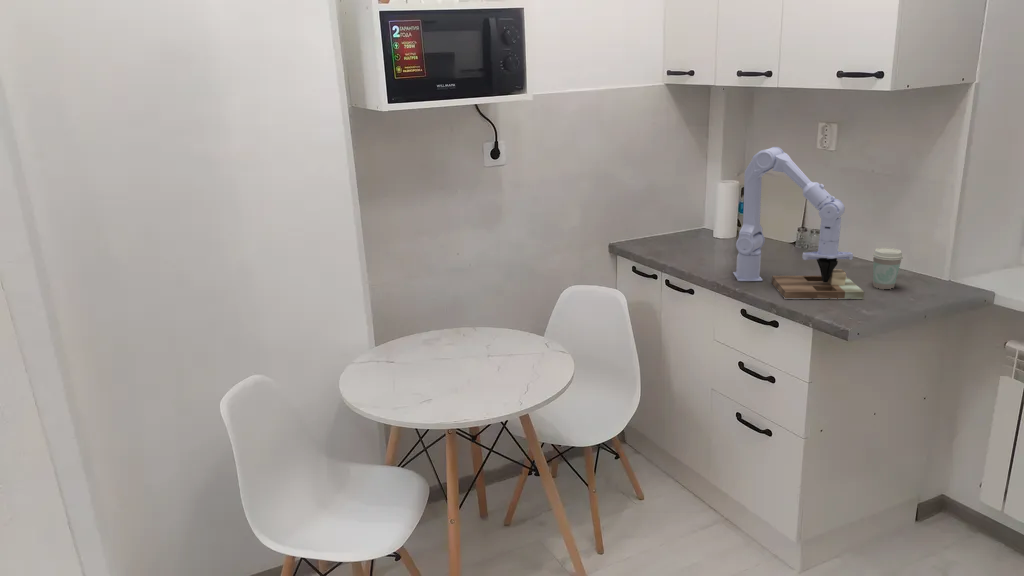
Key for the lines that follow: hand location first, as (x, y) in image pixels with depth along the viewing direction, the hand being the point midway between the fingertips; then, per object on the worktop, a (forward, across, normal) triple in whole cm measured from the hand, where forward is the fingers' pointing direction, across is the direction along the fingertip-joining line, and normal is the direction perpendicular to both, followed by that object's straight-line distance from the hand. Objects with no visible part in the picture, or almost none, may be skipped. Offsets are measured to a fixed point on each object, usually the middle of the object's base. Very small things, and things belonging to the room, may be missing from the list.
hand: (824, 281), depth 224 cm
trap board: (+3, -2, 0) cm, 4 cm away
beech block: (+1, +4, 0) cm, 4 cm away
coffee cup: (+3, +20, +4) cm, 20 cm away
